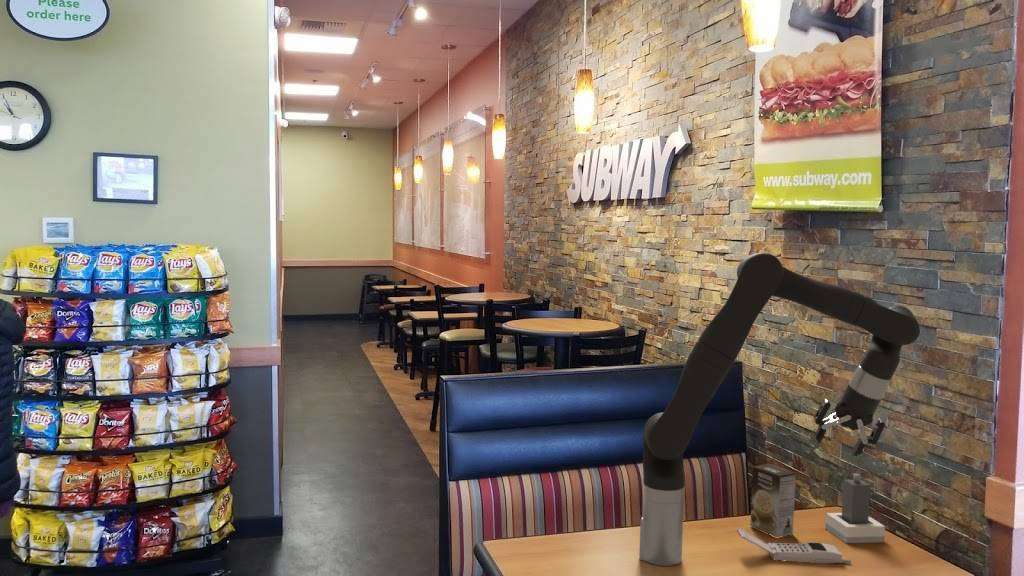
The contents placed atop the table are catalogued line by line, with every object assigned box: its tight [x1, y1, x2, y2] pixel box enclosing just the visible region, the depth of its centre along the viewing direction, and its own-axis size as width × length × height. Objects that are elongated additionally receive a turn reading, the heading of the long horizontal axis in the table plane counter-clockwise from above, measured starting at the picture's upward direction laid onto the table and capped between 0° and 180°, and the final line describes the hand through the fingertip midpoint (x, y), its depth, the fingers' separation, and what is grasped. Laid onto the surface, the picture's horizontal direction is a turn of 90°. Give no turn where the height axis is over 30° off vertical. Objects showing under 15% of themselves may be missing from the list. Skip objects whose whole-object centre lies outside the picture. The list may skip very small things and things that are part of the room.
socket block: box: [824, 512, 886, 544], centre depth 199 cm, size 10×10×4 cm
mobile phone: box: [736, 527, 851, 565], centre depth 184 cm, size 6×6×25 cm
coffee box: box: [749, 463, 797, 537], centre depth 201 cm, size 9×6×16 cm
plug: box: [841, 473, 871, 524], centre depth 199 cm, size 4×4×14 cm
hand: (835, 447), depth 184 cm, fingers open, 8 cm apart
